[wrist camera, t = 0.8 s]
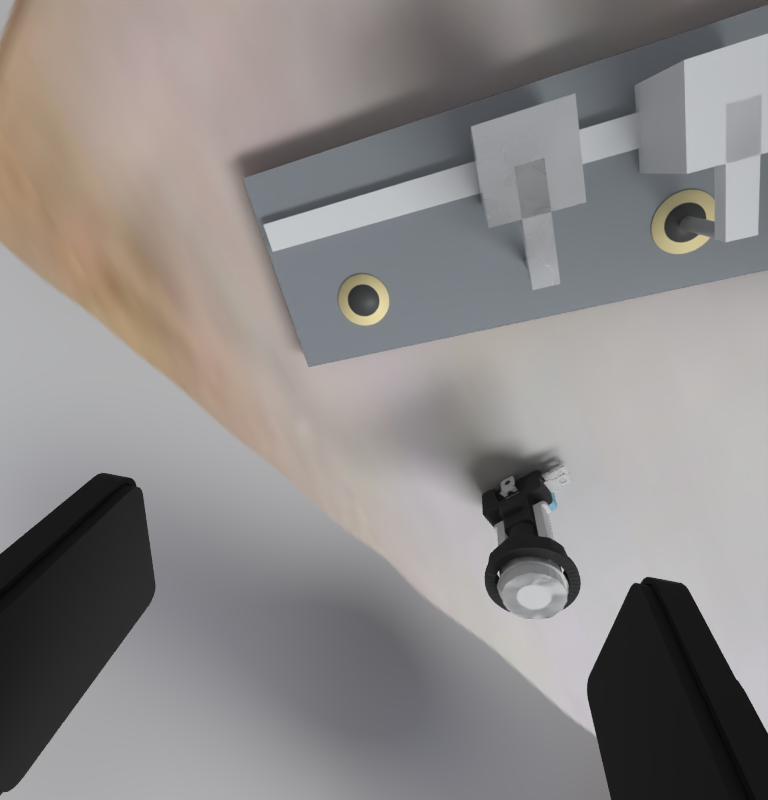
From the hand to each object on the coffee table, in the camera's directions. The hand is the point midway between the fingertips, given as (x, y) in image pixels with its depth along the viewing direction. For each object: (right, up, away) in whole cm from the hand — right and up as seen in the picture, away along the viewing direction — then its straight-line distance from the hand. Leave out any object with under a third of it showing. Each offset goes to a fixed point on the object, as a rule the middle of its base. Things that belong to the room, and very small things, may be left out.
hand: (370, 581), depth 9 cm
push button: (+11, -3, +27) cm, 29 cm away
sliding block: (+8, +14, +17) cm, 23 cm away
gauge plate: (+7, +14, +19) cm, 25 cm away
